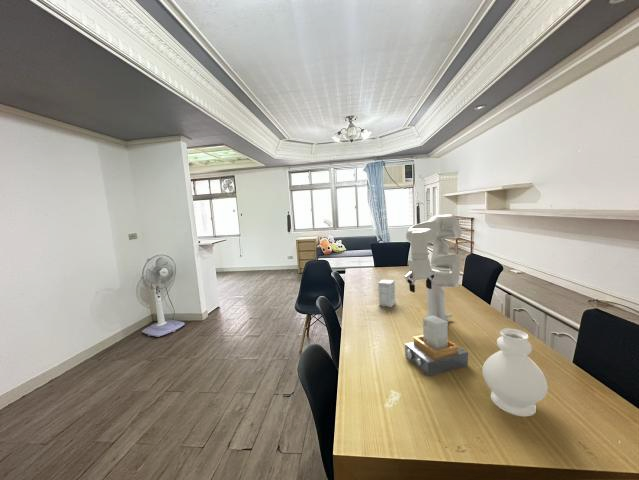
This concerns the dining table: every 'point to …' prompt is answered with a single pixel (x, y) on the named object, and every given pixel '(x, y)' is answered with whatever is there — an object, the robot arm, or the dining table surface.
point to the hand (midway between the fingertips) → (420, 289)
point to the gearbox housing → (435, 356)
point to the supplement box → (386, 293)
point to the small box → (435, 332)
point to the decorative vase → (514, 375)
